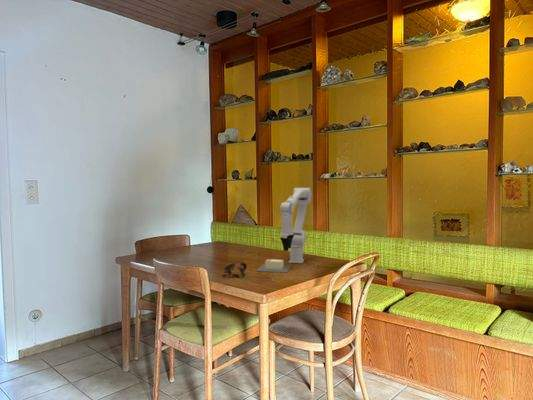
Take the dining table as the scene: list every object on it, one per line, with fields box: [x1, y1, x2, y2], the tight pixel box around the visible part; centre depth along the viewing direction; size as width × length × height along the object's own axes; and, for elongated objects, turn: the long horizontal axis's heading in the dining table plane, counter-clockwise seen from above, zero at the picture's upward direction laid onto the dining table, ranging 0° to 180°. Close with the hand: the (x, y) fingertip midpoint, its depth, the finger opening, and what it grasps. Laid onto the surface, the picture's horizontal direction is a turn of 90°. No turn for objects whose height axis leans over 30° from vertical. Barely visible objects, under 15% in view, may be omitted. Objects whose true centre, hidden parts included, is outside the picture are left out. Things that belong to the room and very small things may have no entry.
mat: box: [255, 263, 293, 274], centre depth 214 cm, size 16×16×1 cm
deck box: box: [264, 258, 285, 269], centre depth 214 cm, size 9×5×4 cm, turn 77°
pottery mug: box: [223, 260, 248, 279], centre depth 199 cm, size 12×10×8 cm
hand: (287, 249), depth 218 cm, fingers open, 7 cm apart
